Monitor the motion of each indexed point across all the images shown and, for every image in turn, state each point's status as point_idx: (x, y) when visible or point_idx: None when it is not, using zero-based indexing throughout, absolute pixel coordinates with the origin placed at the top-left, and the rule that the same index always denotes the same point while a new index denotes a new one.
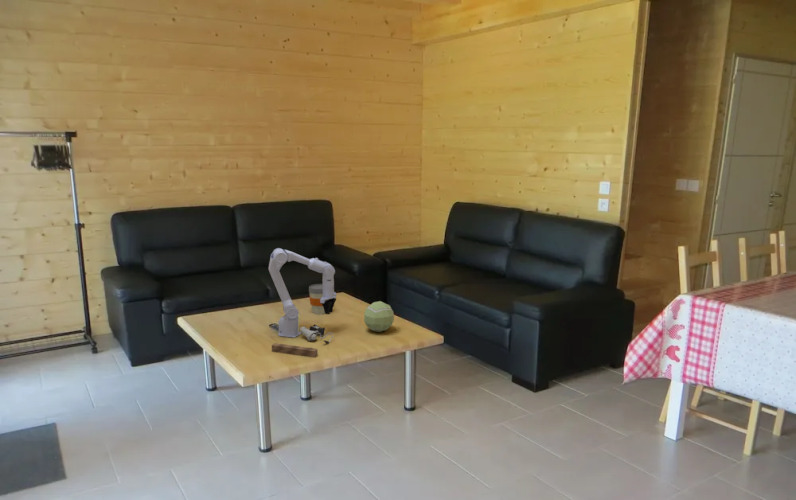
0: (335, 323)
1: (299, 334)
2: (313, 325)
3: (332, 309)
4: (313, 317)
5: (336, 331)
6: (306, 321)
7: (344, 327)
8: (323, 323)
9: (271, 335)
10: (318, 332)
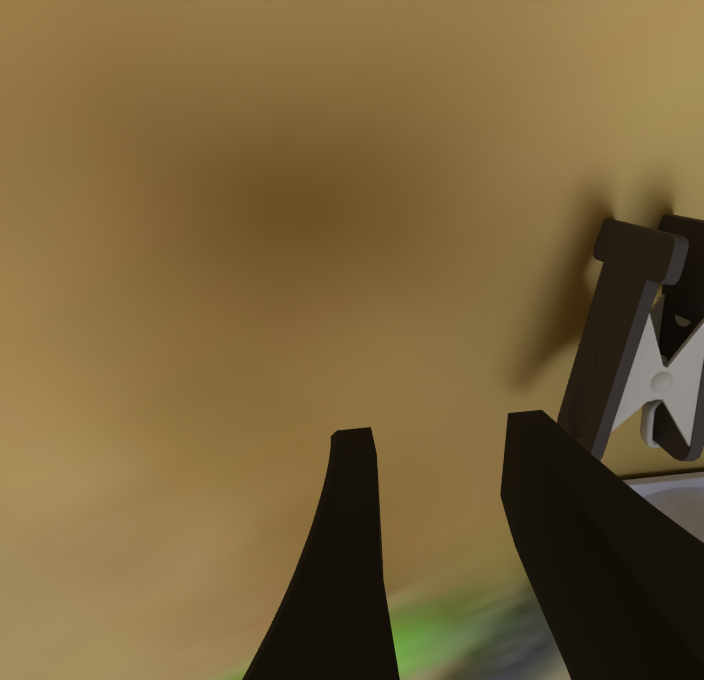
0: (11, 345)
1: (655, 477)
2: None
3: (356, 482)
4: (18, 645)
5: (355, 123)
6: (185, 629)
7: (81, 99)
8: (127, 472)
9: None
10: (690, 290)
